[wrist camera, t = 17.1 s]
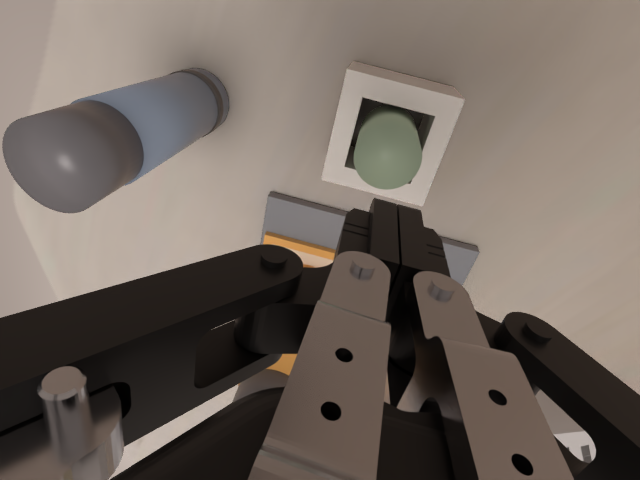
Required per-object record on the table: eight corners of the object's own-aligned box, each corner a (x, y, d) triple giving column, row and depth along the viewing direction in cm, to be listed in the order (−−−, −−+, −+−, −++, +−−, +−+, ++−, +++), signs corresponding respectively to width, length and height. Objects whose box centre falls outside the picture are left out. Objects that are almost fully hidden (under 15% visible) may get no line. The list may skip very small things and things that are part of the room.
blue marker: (172, 60, 24) (-13, 99, 13) (232, 76, 24) (98, 129, 13) (171, 122, 26) (10, 201, 15) (226, 137, 26) (106, 228, 15)
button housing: (353, 60, 23) (346, 68, 19) (453, 86, 22) (465, 99, 19) (329, 157, 26) (320, 179, 22) (418, 181, 26) (422, 206, 22)
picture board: (271, 191, 28) (266, 198, 26) (477, 246, 27) (480, 256, 26) (250, 315, 34) (245, 325, 33) (418, 361, 33) (419, 373, 32)
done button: (368, 98, 21) (363, 115, 18) (424, 113, 21) (432, 133, 18) (353, 153, 23) (346, 180, 19) (405, 167, 23) (408, 196, 19)
